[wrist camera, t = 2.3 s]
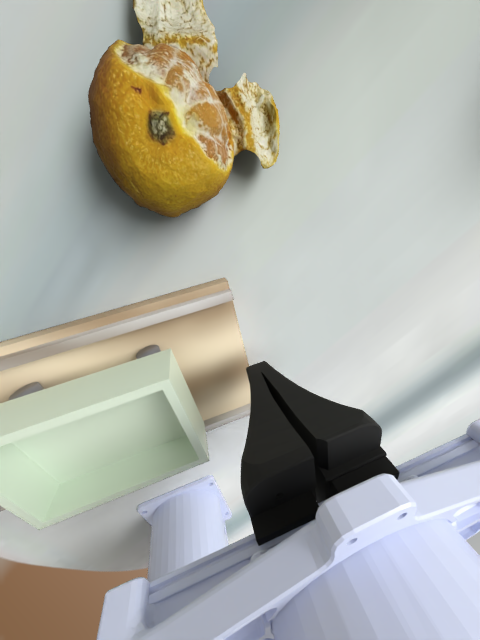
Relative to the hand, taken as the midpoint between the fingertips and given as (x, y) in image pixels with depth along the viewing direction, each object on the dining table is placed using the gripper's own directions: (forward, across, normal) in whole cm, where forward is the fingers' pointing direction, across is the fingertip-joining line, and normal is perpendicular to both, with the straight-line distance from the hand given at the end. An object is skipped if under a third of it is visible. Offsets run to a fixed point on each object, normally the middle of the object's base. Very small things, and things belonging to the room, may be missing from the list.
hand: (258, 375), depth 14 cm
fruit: (+5, -2, -17) cm, 17 cm away
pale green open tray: (+2, +10, 0) cm, 10 cm away
